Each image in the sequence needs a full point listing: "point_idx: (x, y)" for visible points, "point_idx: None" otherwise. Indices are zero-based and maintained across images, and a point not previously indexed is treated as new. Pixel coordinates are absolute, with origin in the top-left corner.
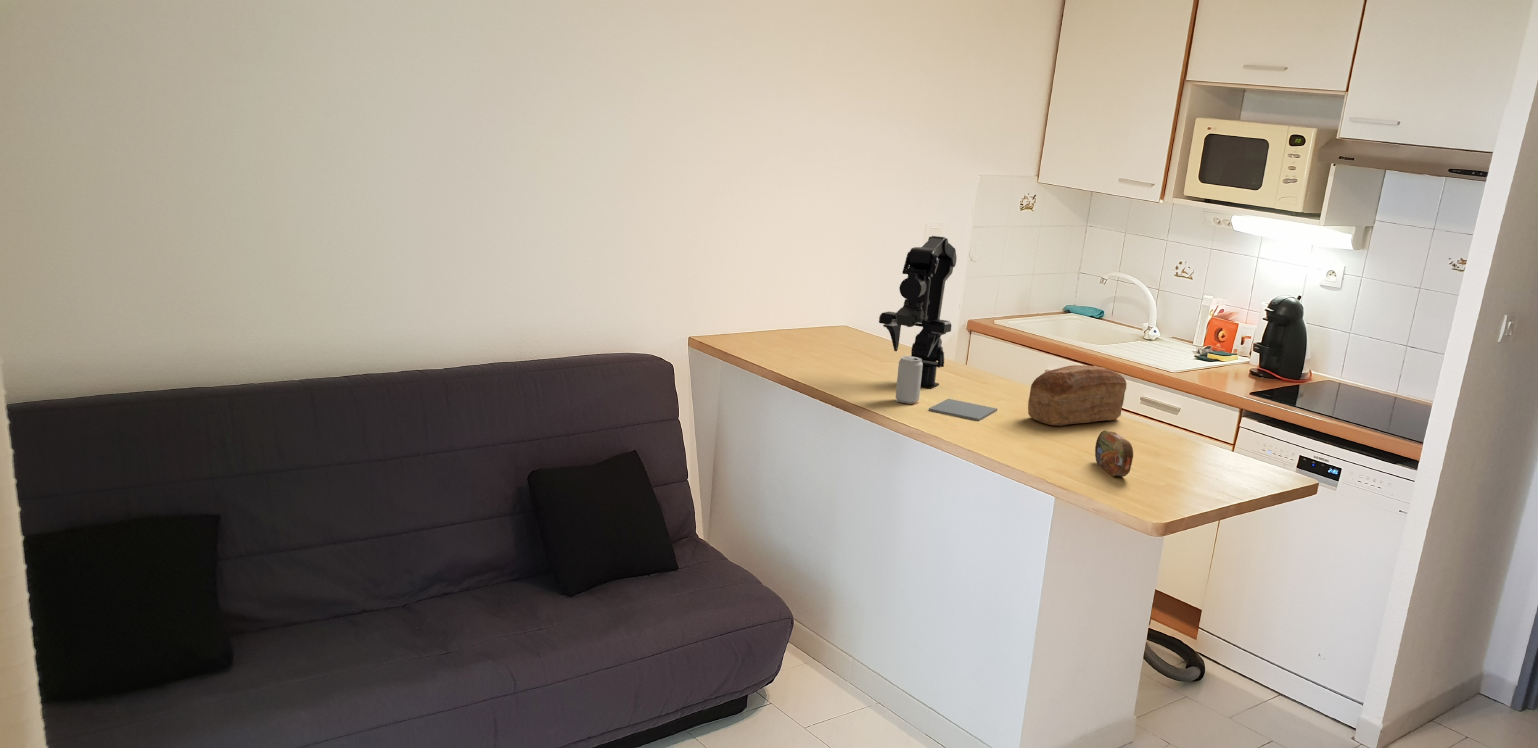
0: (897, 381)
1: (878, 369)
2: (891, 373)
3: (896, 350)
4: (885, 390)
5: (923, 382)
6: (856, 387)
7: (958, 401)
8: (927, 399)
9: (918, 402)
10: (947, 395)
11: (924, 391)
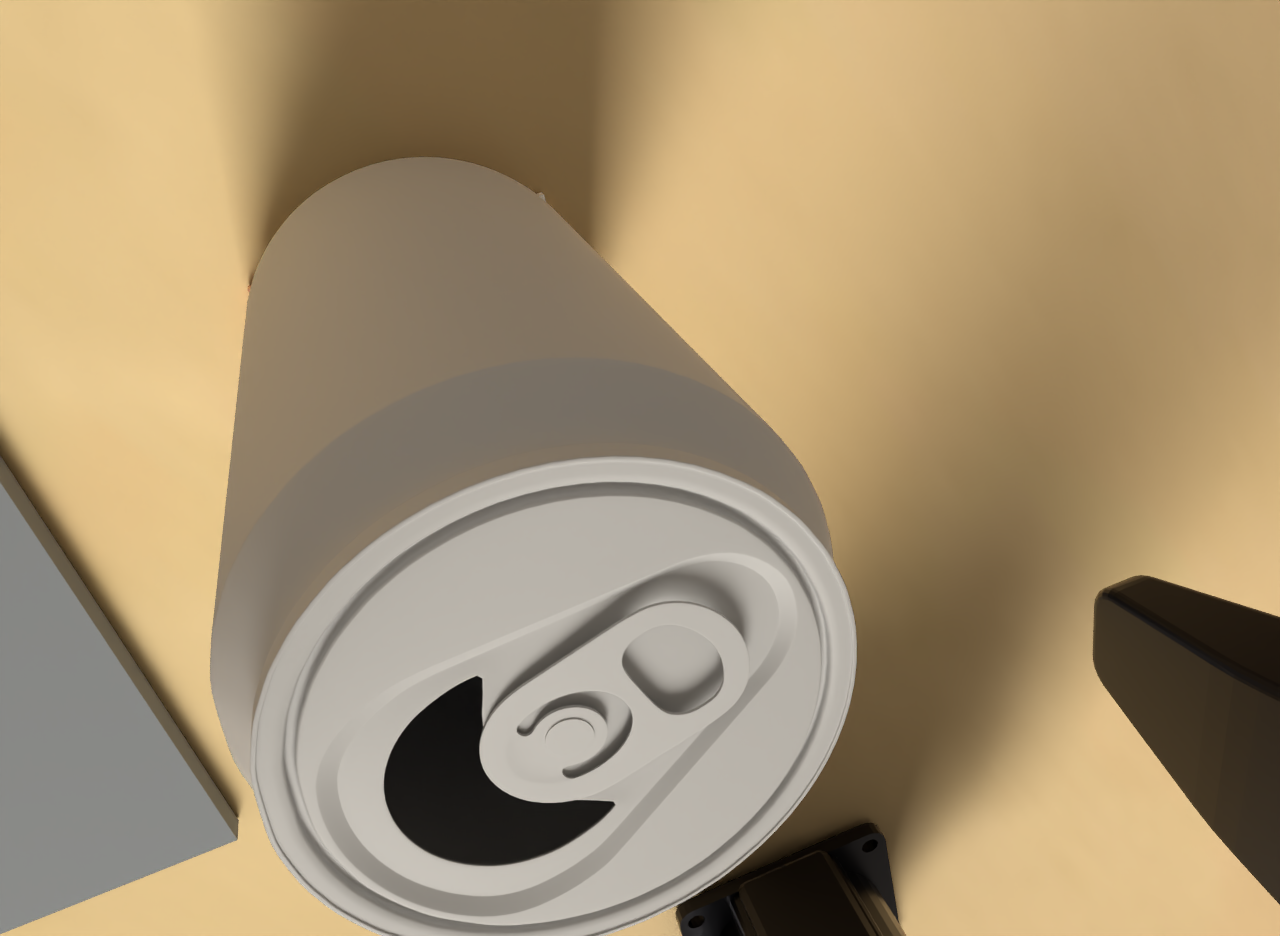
0: (594, 255)
1: None
2: (1159, 879)
3: (1109, 642)
4: (917, 467)
5: (762, 906)
6: (1188, 249)
7: (71, 872)
8: None
9: None
10: None
11: None
